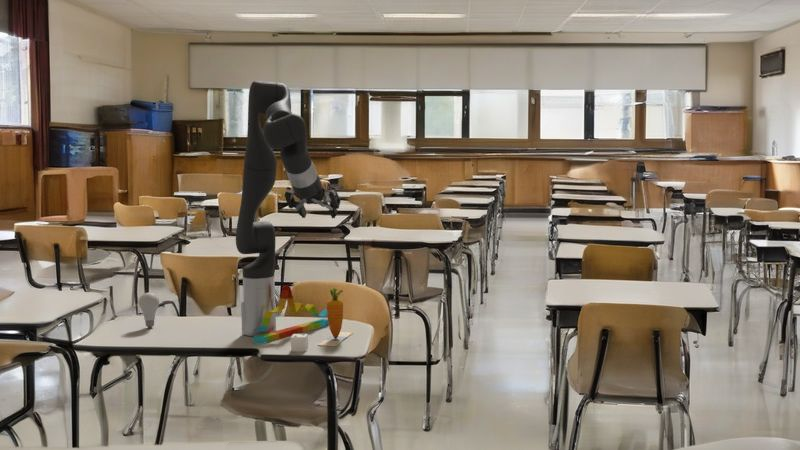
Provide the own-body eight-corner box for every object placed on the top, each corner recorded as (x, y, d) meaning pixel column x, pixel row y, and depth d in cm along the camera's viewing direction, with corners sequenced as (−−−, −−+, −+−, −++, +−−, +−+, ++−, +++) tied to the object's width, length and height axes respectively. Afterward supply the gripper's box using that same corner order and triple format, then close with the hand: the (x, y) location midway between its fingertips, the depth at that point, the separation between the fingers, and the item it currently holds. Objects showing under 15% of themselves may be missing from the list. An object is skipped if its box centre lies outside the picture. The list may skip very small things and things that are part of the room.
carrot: (331, 336, 271) (330, 285, 270) (347, 337, 270) (346, 285, 268) (324, 340, 267) (323, 288, 265) (340, 341, 265) (339, 288, 263)
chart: (323, 324, 291) (321, 276, 289) (330, 325, 289) (329, 277, 287) (252, 343, 266) (250, 291, 265) (260, 345, 264) (259, 292, 263)
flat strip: (317, 345, 261) (317, 344, 261) (336, 332, 277) (336, 331, 277) (334, 346, 260) (334, 345, 260) (353, 333, 276) (353, 332, 276)
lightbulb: (144, 331, 283) (143, 295, 282) (136, 327, 288) (134, 292, 287) (163, 328, 287) (162, 292, 286) (155, 324, 292) (153, 290, 291)
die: (291, 351, 255) (290, 336, 255) (293, 348, 259) (293, 333, 259) (305, 351, 255) (305, 336, 255) (308, 348, 259) (307, 333, 259)
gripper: (332, 165, 243) (347, 205, 255) (281, 165, 247) (298, 204, 259) (326, 187, 239) (341, 226, 251) (274, 187, 242) (291, 226, 255)
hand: (319, 215), depth 255 cm, fingers open, 8 cm apart
